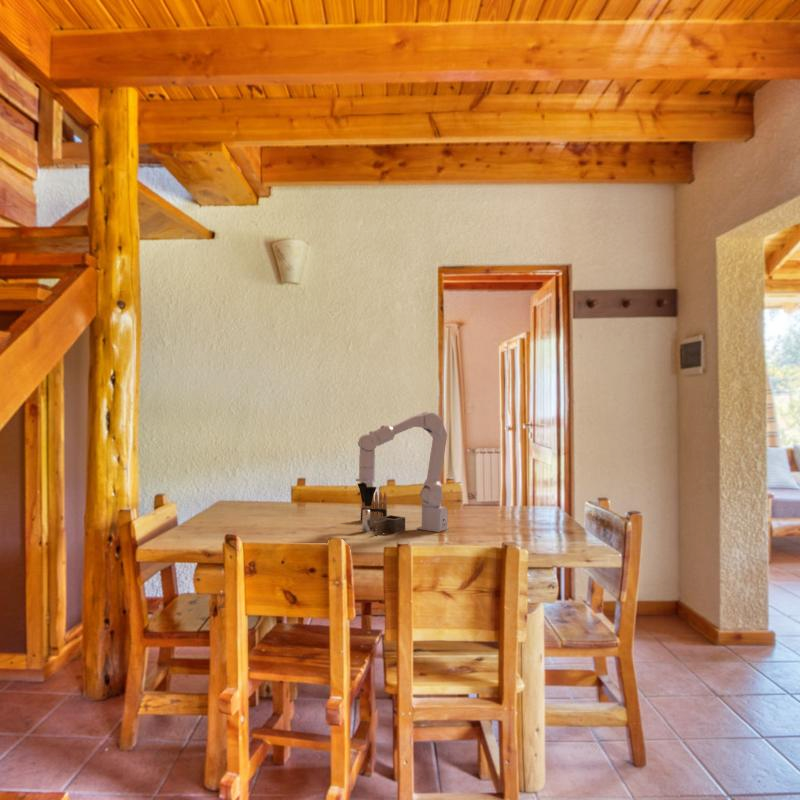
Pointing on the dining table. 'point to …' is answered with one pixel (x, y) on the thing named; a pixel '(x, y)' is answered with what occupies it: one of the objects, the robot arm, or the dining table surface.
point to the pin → (366, 520)
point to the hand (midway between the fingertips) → (366, 504)
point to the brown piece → (387, 524)
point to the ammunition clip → (376, 506)
